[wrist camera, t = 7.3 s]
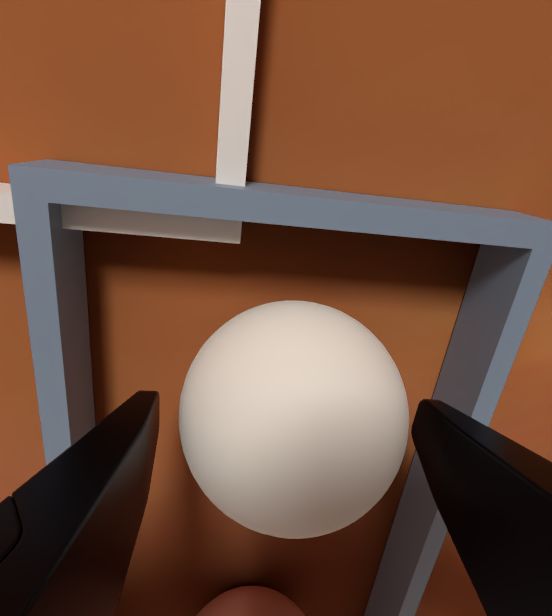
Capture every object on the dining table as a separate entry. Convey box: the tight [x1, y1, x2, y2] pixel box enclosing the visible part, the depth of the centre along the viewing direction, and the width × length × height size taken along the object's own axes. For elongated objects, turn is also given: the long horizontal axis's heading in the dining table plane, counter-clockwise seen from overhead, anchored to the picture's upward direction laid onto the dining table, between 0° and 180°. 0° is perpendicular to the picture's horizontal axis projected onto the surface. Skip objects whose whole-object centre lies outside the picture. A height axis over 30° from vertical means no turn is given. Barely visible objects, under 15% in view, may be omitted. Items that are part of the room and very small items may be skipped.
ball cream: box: [179, 300, 409, 539], centre depth 9 cm, size 5×5×5 cm
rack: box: [8, 159, 552, 616], centre depth 12 cm, size 11×19×2 cm, turn 174°
